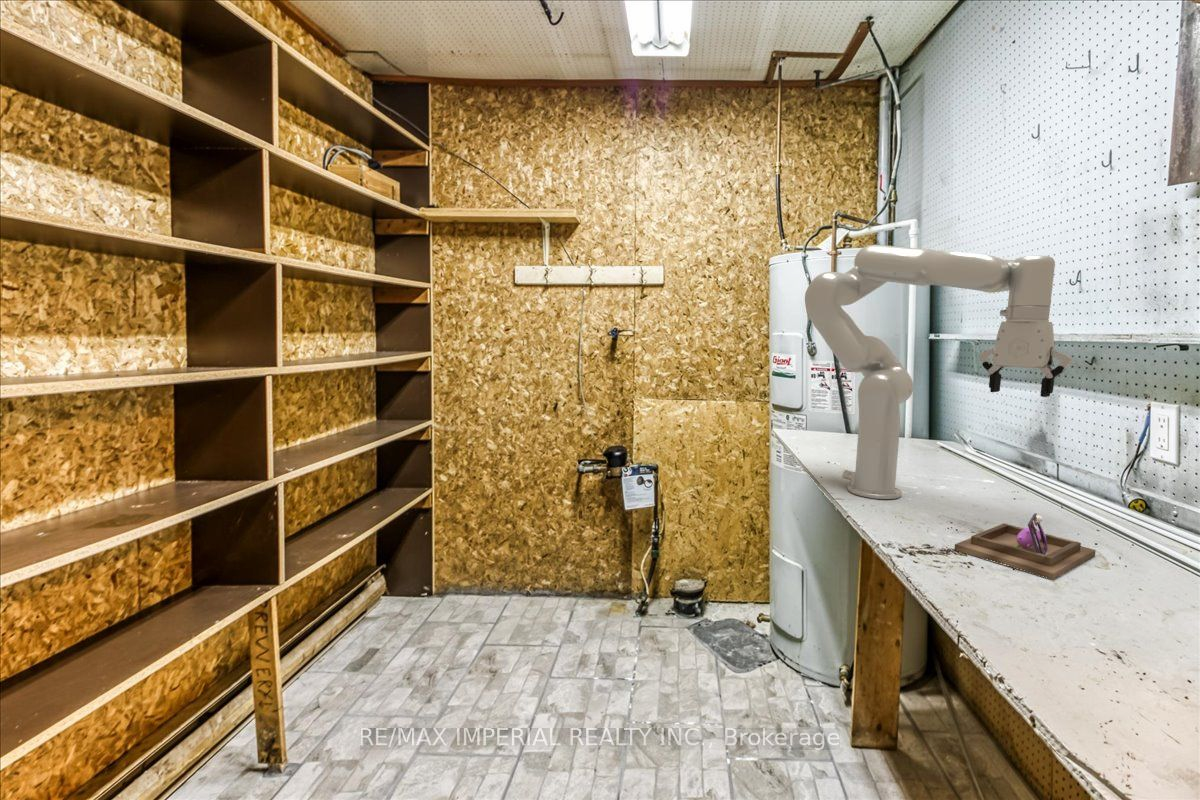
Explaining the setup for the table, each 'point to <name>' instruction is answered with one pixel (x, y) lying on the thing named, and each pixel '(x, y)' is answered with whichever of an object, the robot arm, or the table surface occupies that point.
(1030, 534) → the purple figure with panel
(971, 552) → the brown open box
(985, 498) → the table surface
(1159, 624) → the table surface
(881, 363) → the robot arm
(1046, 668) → the table surface
